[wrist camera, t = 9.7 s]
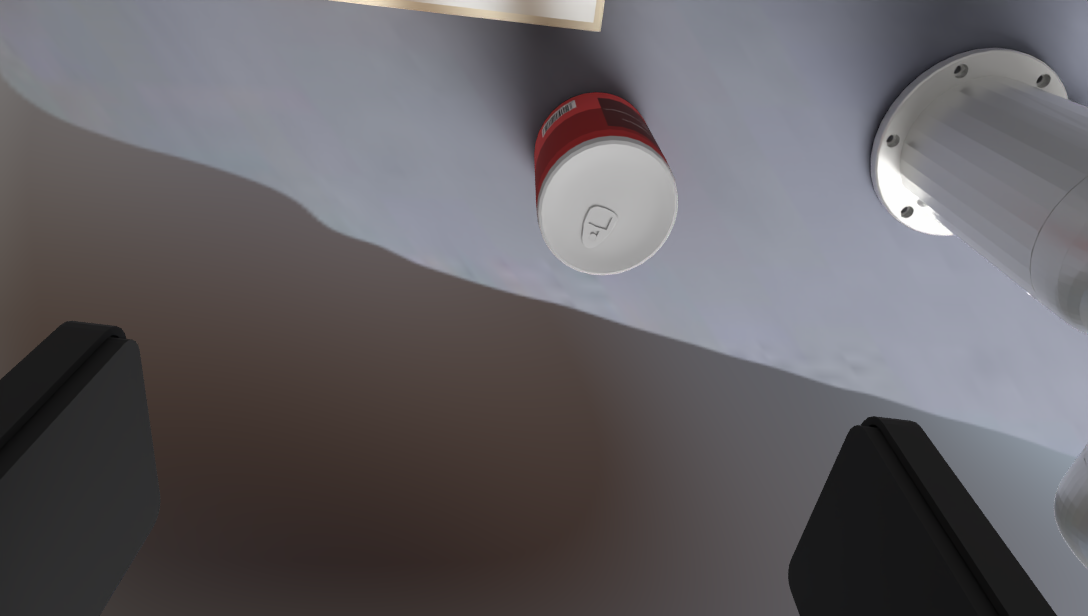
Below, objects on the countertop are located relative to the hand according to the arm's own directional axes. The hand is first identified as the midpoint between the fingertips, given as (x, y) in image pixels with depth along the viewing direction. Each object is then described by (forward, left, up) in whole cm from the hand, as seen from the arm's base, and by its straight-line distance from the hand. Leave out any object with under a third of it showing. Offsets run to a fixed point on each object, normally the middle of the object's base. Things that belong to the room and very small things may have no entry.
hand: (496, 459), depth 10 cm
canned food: (-6, +8, -41) cm, 42 cm away
